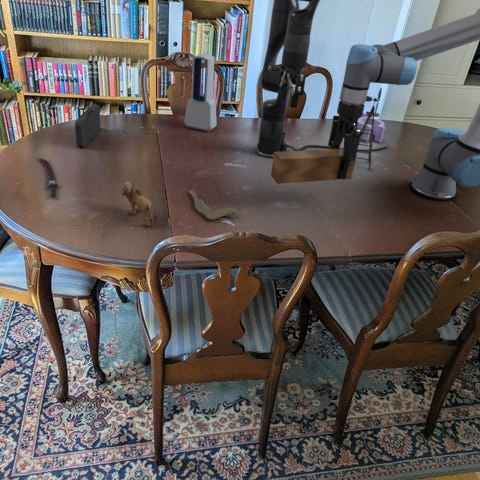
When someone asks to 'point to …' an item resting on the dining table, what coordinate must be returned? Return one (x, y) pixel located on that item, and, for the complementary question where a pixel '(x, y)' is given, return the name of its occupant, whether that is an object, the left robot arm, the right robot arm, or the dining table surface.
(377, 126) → the purple notched block
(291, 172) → the bar
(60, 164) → the dining table surface
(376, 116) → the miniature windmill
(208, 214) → the jawbone
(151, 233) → the dining table surface
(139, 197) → the lion figurine
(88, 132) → the handheld gaming console
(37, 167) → the dining table surface
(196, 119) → the electronic device
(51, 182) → the sword
